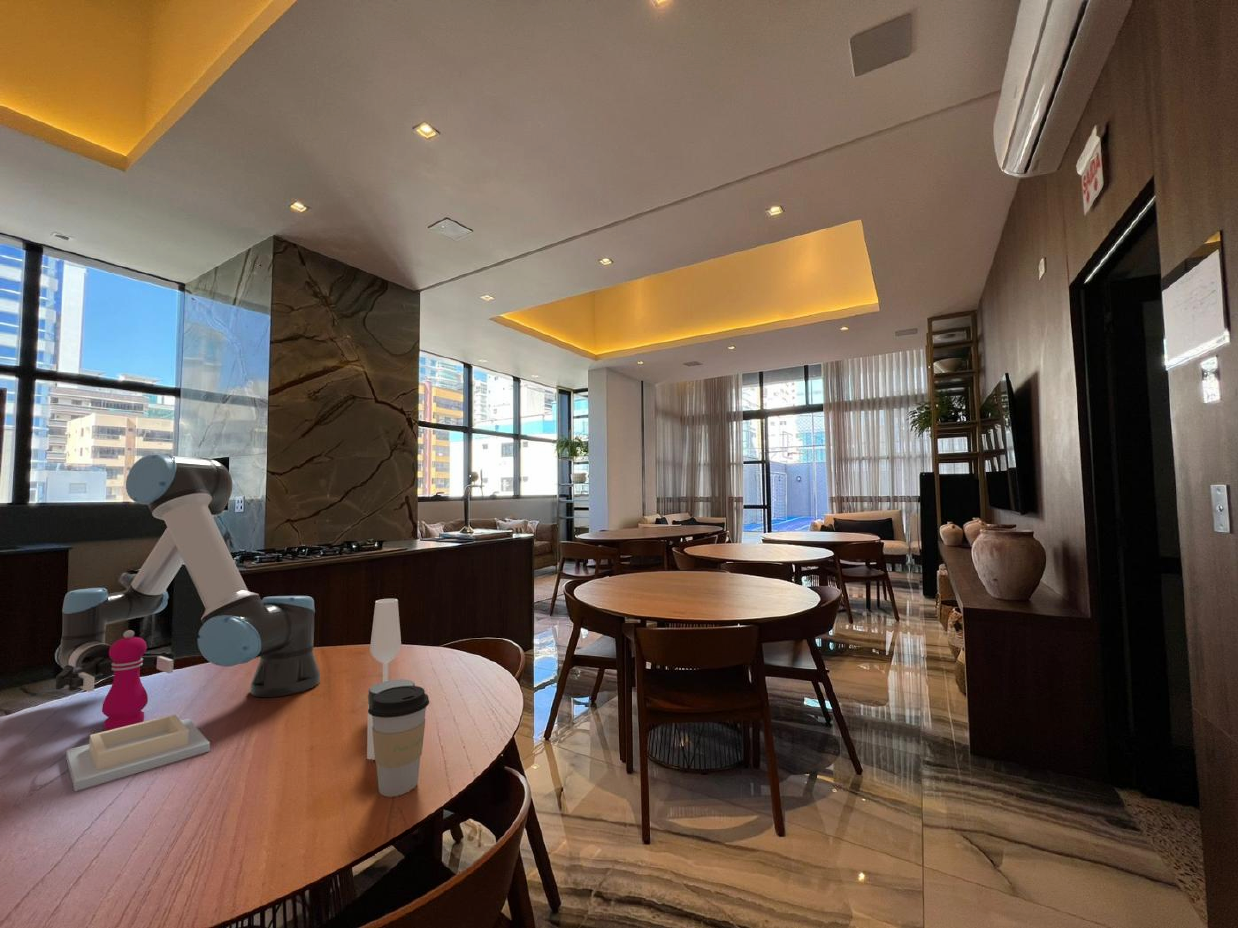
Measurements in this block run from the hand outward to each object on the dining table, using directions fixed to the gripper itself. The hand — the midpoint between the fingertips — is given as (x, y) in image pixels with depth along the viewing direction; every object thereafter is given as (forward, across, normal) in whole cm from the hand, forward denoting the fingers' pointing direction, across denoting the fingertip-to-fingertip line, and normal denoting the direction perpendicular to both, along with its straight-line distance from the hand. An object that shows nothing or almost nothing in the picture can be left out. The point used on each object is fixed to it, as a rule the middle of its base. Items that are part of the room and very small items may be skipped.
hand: (133, 675), depth 112 cm
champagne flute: (+37, -34, -11) cm, 51 cm away
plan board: (+17, +4, -11) cm, 20 cm away
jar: (+58, -20, -11) cm, 62 cm away
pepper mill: (-4, 0, -11) cm, 12 cm away
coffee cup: (+70, -13, -11) cm, 72 cm away
